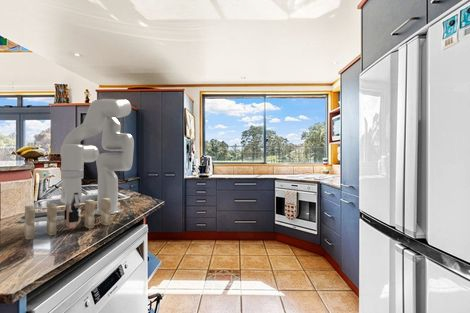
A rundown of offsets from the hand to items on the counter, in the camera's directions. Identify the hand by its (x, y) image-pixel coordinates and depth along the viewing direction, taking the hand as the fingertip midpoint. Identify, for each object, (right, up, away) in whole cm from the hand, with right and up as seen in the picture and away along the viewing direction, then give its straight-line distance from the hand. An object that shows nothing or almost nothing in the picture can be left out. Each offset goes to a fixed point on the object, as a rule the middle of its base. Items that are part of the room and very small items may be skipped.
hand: (71, 220), depth 98 cm
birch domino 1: (-9, -4, -10) cm, 13 cm away
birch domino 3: (+4, -4, +5) cm, 8 cm away
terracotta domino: (0, -2, 0) cm, 2 cm away
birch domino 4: (+9, -4, +10) cm, 14 cm away
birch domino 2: (-4, -4, -5) cm, 7 cm away
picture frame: (-23, -5, +22) cm, 32 cm away
